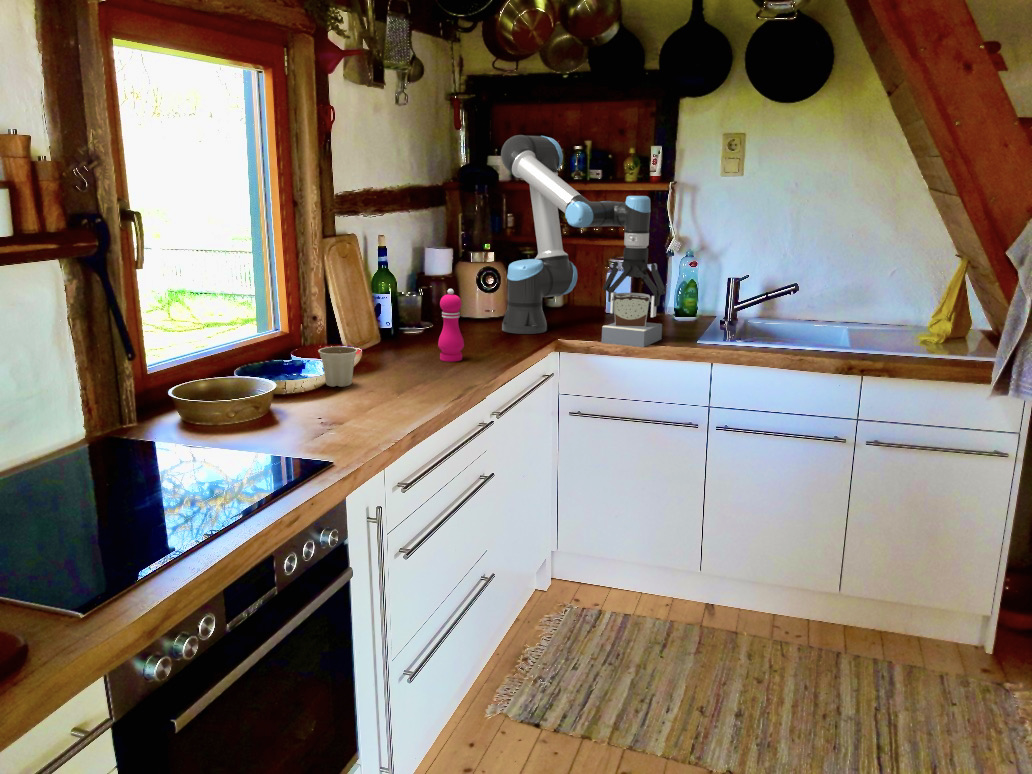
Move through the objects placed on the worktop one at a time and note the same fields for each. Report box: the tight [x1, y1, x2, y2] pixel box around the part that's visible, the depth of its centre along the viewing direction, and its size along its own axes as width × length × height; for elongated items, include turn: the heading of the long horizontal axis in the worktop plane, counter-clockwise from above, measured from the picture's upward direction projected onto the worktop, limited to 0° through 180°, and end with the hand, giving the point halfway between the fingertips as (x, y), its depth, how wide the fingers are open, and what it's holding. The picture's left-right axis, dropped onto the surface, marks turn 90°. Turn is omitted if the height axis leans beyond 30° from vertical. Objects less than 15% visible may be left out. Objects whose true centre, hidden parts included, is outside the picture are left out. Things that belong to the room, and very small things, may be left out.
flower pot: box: [317, 346, 358, 388], centre depth 204 cm, size 9×9×9 cm
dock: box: [601, 321, 663, 348], centre depth 264 cm, size 14×16×5 cm
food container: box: [612, 292, 652, 327], centre depth 262 cm, size 12×6×10 cm, turn 86°
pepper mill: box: [437, 288, 465, 363], centre depth 232 cm, size 7×7×20 cm
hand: (632, 314), depth 263 cm, fingers open, 13 cm apart
